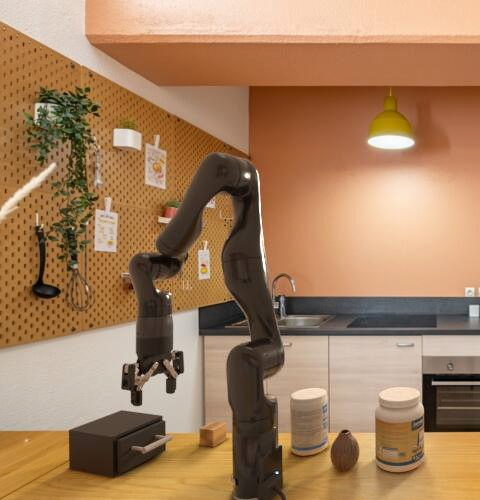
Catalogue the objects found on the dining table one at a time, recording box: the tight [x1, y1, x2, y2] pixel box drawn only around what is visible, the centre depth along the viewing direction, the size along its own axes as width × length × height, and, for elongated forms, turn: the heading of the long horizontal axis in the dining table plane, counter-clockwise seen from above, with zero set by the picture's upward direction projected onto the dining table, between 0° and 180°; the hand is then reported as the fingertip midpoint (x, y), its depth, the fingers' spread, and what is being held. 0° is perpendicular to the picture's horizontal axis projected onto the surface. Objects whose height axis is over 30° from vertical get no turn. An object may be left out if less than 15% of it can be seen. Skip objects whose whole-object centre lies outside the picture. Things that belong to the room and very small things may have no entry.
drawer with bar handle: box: [116, 419, 173, 474], centre depth 102 cm, size 18×11×8 cm, turn 74°
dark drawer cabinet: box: [68, 409, 164, 478], centre depth 103 cm, size 15×13×10 cm
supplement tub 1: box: [289, 387, 329, 457], centre depth 108 cm, size 10×10×15 cm
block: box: [199, 421, 227, 448], centre depth 112 cm, size 5×5×5 cm
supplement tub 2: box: [374, 386, 425, 473], centre depth 101 cm, size 12×12×17 cm
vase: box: [329, 428, 360, 472], centre depth 99 cm, size 7×7×9 cm
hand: (154, 399), depth 99 cm, fingers open, 8 cm apart
